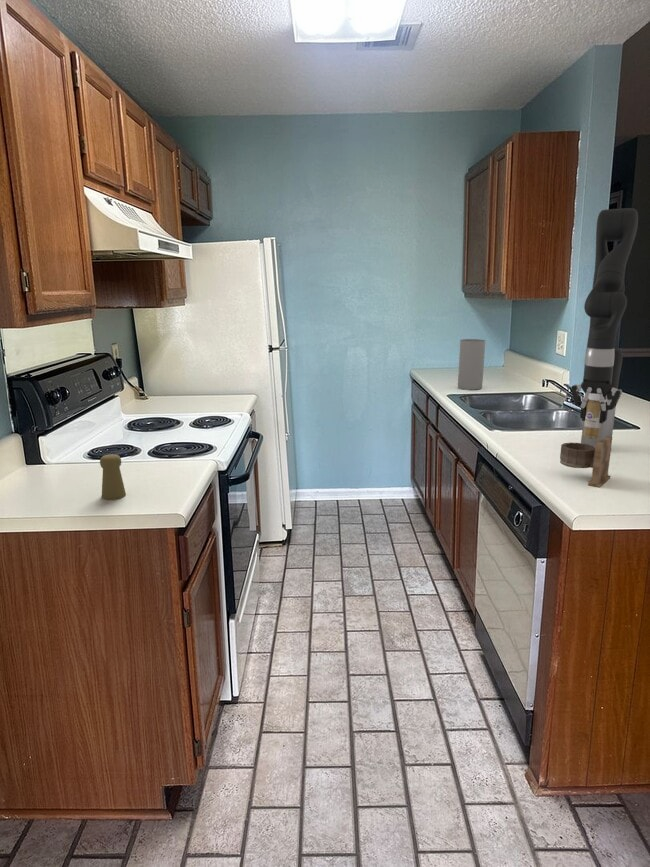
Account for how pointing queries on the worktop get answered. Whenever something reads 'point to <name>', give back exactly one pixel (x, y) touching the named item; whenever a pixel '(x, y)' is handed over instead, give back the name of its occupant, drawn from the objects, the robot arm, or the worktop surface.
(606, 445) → the bracket
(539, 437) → the worktop surface
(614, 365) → the robot arm
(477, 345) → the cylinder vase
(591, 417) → the sprinkles bottle
